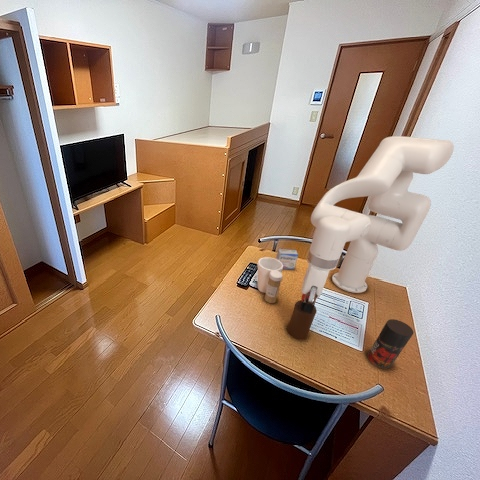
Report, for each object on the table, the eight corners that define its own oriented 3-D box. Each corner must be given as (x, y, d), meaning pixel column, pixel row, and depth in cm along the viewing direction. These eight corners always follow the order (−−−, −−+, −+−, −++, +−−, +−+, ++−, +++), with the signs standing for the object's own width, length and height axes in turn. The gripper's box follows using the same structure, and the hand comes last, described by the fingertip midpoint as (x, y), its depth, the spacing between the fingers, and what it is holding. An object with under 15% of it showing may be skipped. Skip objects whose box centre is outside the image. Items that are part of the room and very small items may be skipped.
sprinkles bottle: (278, 300, 105) (285, 274, 98) (271, 305, 103) (277, 279, 96) (268, 294, 108) (274, 268, 101) (261, 298, 106) (267, 272, 99)
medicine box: (276, 268, 122) (280, 253, 118) (274, 263, 126) (278, 248, 122) (294, 269, 121) (298, 254, 117) (291, 264, 125) (295, 249, 120)
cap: (299, 301, 84) (301, 293, 82) (304, 295, 86) (306, 288, 84) (311, 307, 81) (314, 299, 80) (316, 301, 84) (319, 293, 82)
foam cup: (252, 292, 109) (257, 267, 103) (254, 279, 117) (259, 255, 110) (276, 298, 106) (283, 272, 99) (277, 284, 113) (283, 259, 107)
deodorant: (362, 352, 84) (381, 320, 76) (380, 350, 84) (400, 318, 76) (377, 369, 78) (399, 337, 71) (396, 367, 79) (419, 334, 71)
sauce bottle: (296, 322, 95) (308, 286, 86) (311, 335, 90) (326, 298, 81) (283, 328, 93) (294, 292, 84) (298, 342, 88) (311, 305, 79)
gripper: (310, 241, 82) (297, 284, 91) (304, 271, 70) (290, 317, 79) (338, 247, 79) (322, 291, 88) (337, 279, 66) (317, 327, 75)
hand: (307, 303), depth 83 cm, fingers open, 6 cm apart
